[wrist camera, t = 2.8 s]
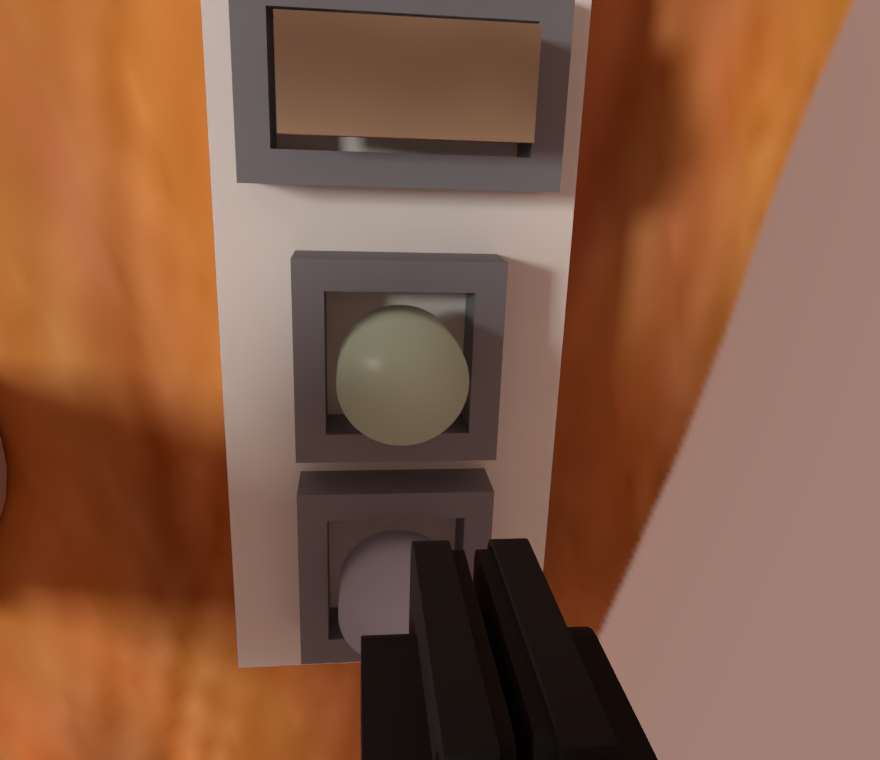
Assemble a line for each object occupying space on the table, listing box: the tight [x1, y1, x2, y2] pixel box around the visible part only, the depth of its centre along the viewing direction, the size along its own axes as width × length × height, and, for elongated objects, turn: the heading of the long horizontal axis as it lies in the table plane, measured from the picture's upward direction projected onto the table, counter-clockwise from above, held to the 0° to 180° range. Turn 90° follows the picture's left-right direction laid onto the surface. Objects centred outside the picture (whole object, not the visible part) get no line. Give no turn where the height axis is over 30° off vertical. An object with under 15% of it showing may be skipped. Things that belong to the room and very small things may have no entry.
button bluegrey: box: [338, 530, 432, 655], centre depth 25 cm, size 4×4×2 cm
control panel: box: [201, 0, 592, 668], centre depth 26 cm, size 26×12×5 cm, turn 178°
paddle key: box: [273, 9, 542, 143], centre depth 20 cm, size 3×7×2 cm, turn 88°
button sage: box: [336, 305, 469, 446], centre depth 23 cm, size 4×4×2 cm
